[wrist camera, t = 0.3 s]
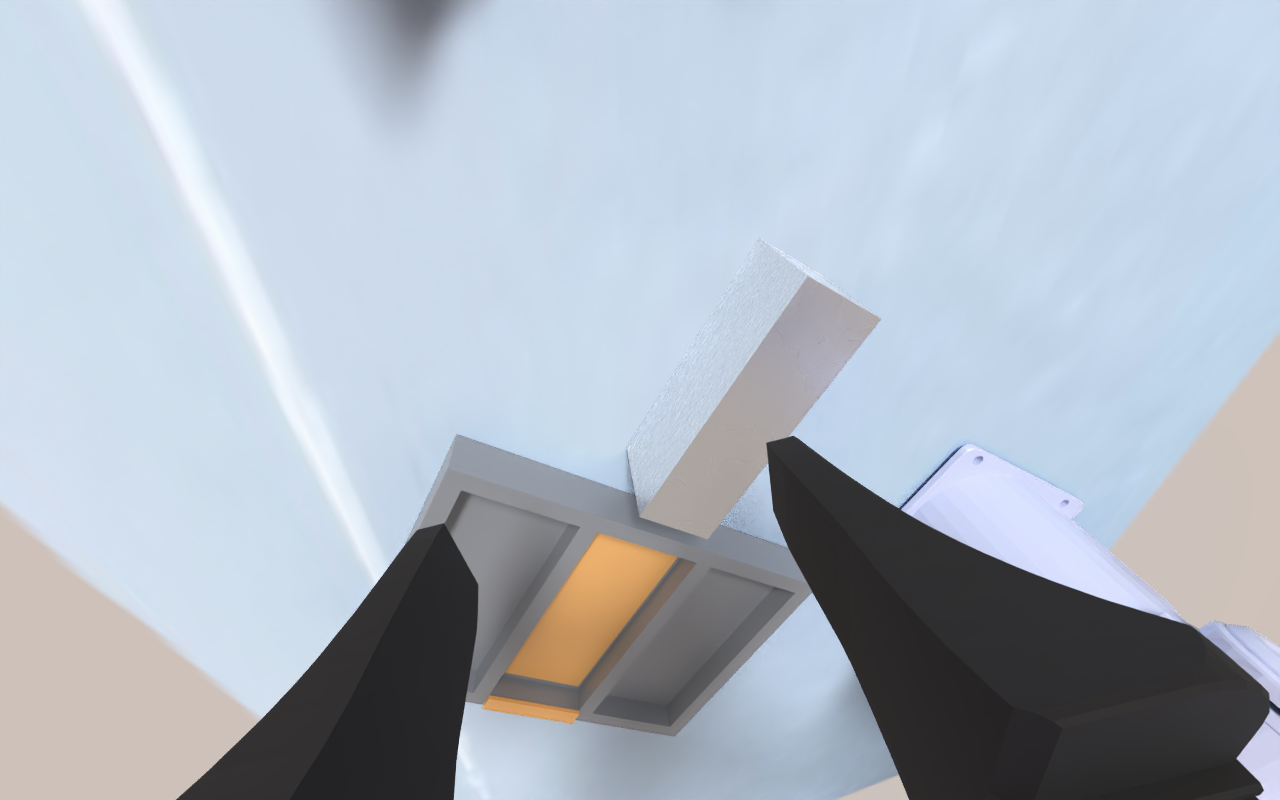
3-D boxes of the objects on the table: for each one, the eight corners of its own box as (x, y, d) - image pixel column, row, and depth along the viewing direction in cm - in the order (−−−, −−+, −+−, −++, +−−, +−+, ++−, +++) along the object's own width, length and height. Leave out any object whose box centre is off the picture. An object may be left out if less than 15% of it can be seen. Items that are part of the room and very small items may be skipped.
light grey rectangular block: (820, 273, 20) (881, 318, 17) (683, 466, 24) (707, 539, 20) (758, 236, 19) (807, 275, 16) (625, 444, 23) (639, 516, 19)
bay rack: (799, 552, 28) (819, 589, 26) (667, 699, 33) (674, 740, 31) (457, 434, 22) (446, 471, 20) (360, 640, 27) (344, 686, 25)
